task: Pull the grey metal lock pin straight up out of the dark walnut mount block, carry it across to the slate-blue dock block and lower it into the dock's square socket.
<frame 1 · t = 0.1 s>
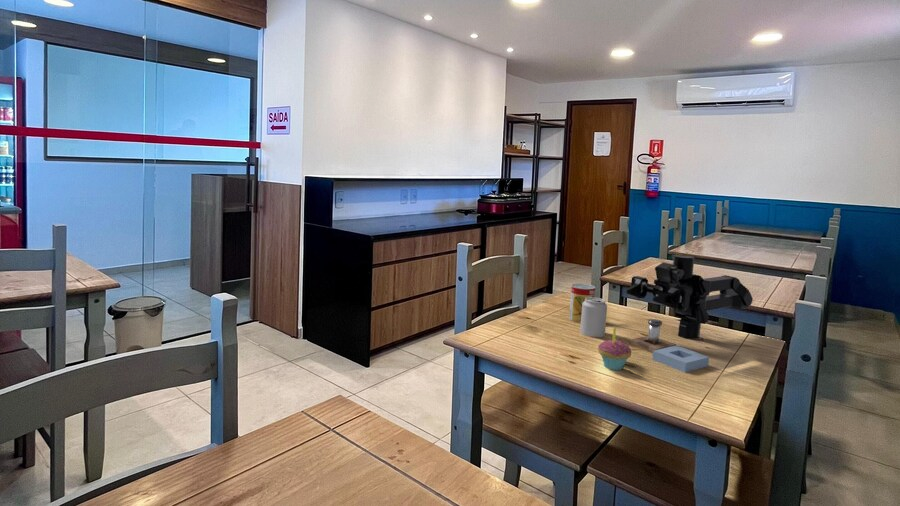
hand: (639, 295, 152), 17 cm above the table, tool horizontal, fingers open, 9 cm apart
canned food: (580, 320, 185), on the table
cupcake: (612, 367, 142), on the table
can: (592, 337, 167), on the table
lock pin: (652, 346, 156), point 1 cm above the table, touching mount
mount: (652, 350, 156), on the table
dock: (679, 366, 144), on the table
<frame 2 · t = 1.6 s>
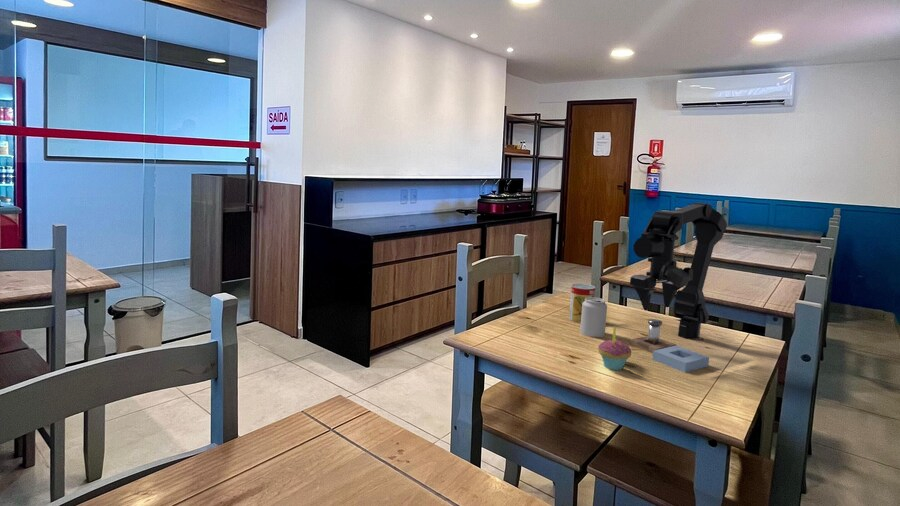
hand: (656, 308, 154), 12 cm above the table, tool pointing down, fingers open, 9 cm apart
nothing on the table moved.
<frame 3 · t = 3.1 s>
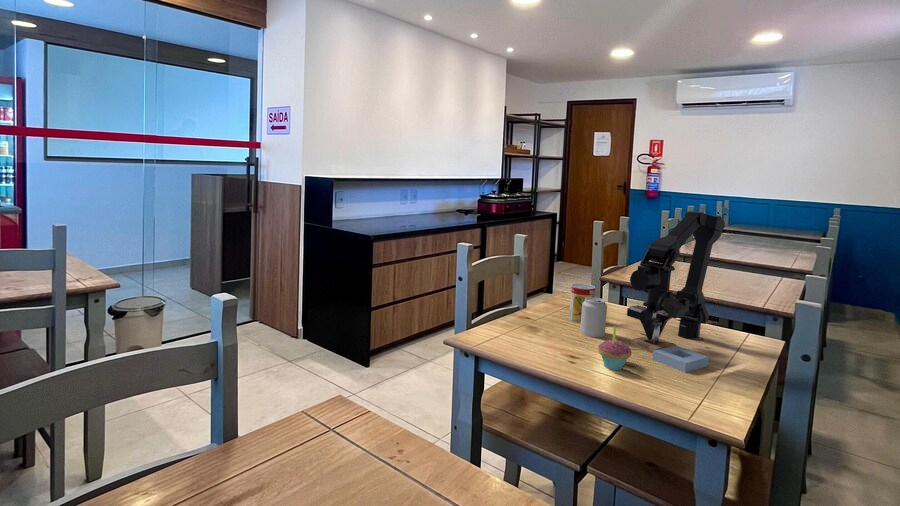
hand: (653, 338, 156), 4 cm above the table, tool pointing down, fingers closed on lock pin, 3 cm apart
lock pin: (652, 346, 156), point 1 cm above the table, touching gripper, mount
everything else where it was.
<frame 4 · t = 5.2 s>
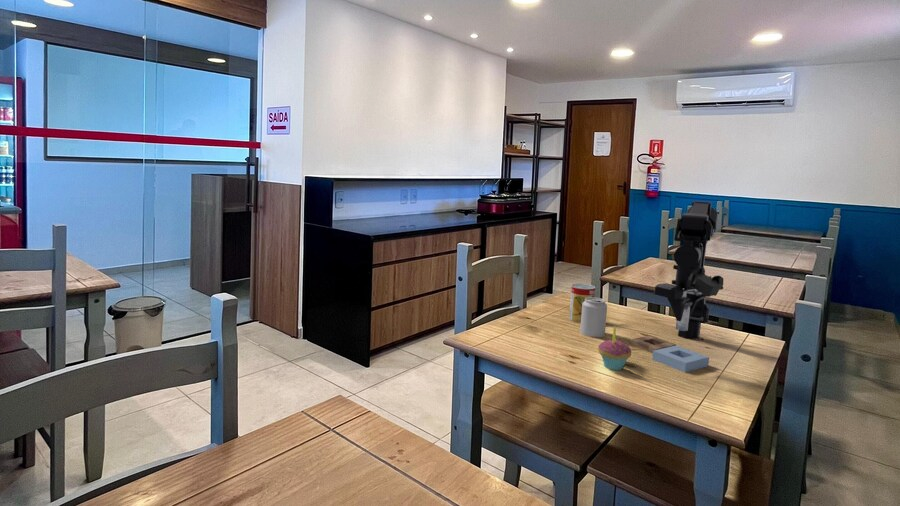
hand: (682, 320, 143), 13 cm above the table, tool pointing down, fingers closed on lock pin, 3 cm apart
lock pin: (681, 329, 143), point 10 cm above the table, touching gripper
everything else where it was.
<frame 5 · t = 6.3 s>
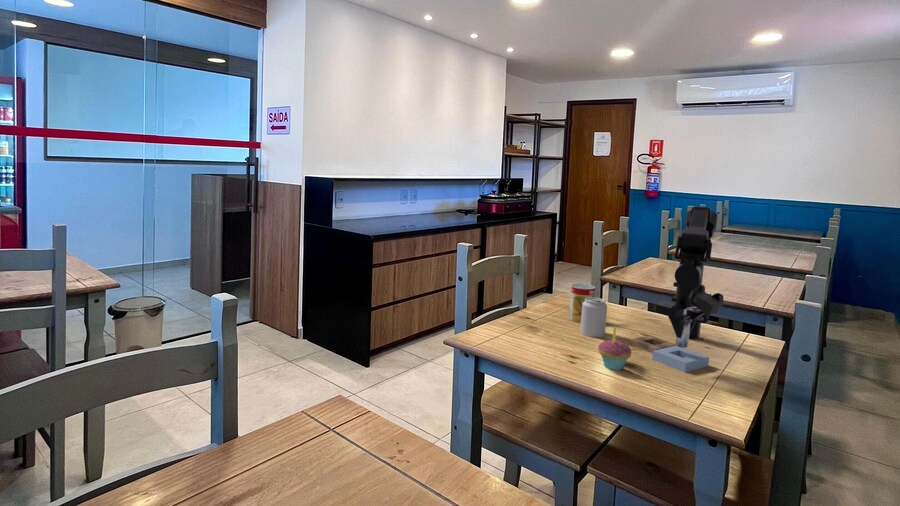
hand: (682, 336, 143), 8 cm above the table, tool pointing down, fingers closed on lock pin, 3 cm apart
lock pin: (681, 345, 143), point 6 cm above the table, touching gripper
everything else where it was.
when the fingers open (4 cm above the table, at t = 7.4 s): lock pin drops 1 cm, resting on dock.
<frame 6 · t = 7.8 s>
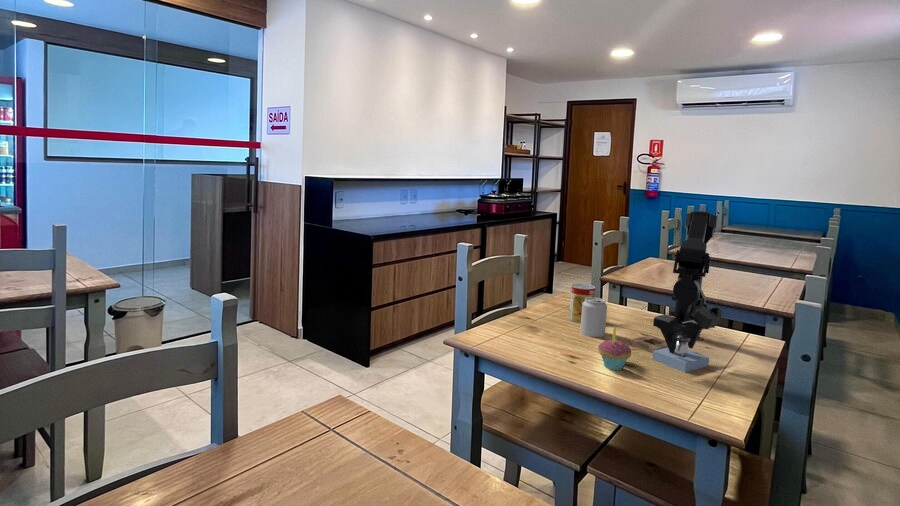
hand: (681, 350, 143), 4 cm above the table, tool pointing down, fingers open, 8 cm apart
lock pin: (679, 364, 144), point 1 cm above the table, touching dock
everything else where it was.
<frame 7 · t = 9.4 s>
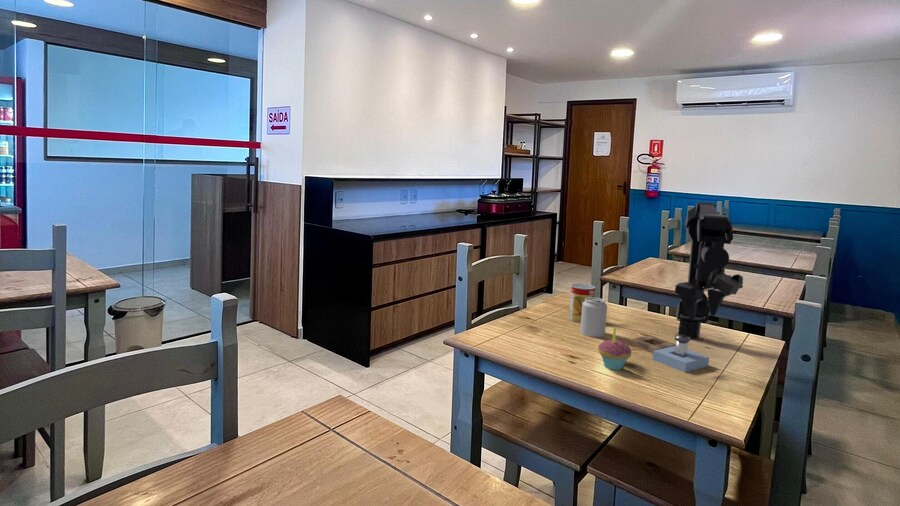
hand: (702, 317, 146), 13 cm above the table, tool pointing down, fingers open, 9 cm apart
nothing on the table moved.
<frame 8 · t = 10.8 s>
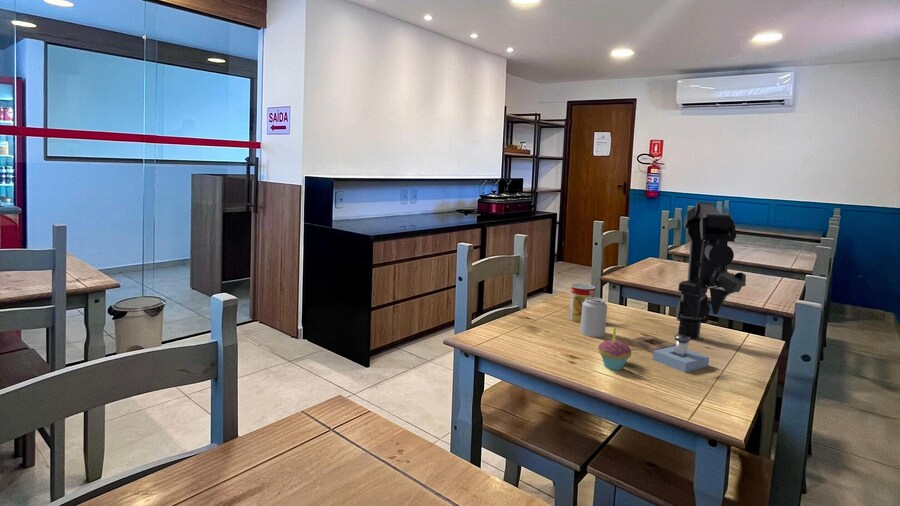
hand: (705, 315, 147), 13 cm above the table, tool pointing down, fingers open, 9 cm apart
nothing on the table moved.
at the end: lock pin 0.1 cm off-centre on the dock, point 0.5 cm above the dock's base; lock pin tilted 0°; the gripper is holding nothing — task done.
